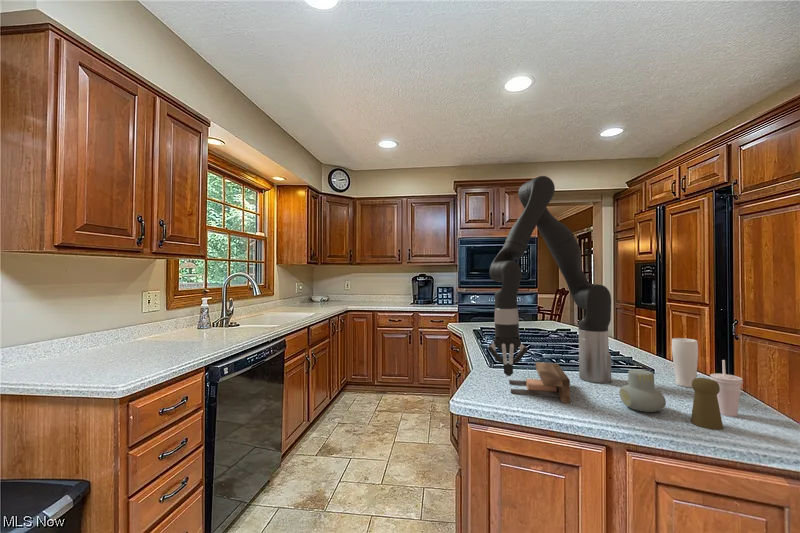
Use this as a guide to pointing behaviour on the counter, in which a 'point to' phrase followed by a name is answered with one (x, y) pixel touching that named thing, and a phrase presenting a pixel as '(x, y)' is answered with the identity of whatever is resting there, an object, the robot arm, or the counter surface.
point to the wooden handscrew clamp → (548, 382)
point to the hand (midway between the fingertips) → (508, 375)
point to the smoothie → (728, 392)
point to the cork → (706, 404)
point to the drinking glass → (685, 360)
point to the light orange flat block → (538, 385)
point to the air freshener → (642, 392)
